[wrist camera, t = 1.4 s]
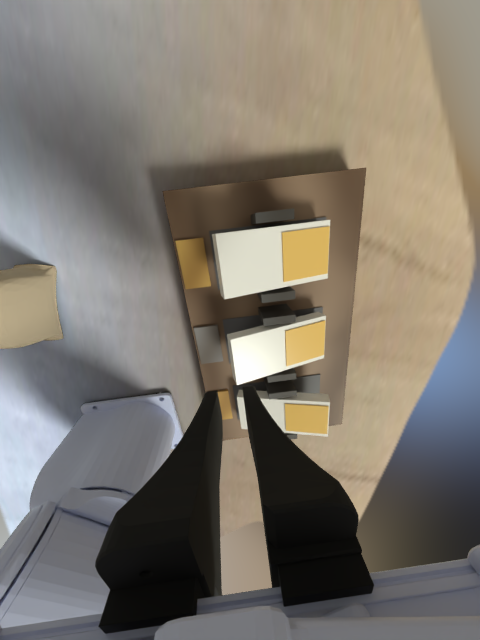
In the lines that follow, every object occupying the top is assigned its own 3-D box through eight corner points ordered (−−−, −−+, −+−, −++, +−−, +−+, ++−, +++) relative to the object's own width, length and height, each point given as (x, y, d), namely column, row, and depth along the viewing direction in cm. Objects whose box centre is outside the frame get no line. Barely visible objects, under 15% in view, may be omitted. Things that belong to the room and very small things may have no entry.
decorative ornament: (15, 332, 20) (-53, 366, 15) (0, 236, 17) (-92, 240, 12) (64, 339, 21) (13, 374, 16) (57, 248, 18) (-8, 256, 13)
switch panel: (216, 426, 26) (215, 464, 22) (169, 195, 17) (150, 183, 12) (333, 410, 26) (354, 445, 22) (350, 174, 17) (392, 156, 13)
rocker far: (243, 420, 23) (241, 429, 22) (238, 389, 21) (236, 398, 20) (326, 427, 21) (327, 437, 20) (328, 394, 19) (330, 403, 18)
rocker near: (221, 295, 15) (225, 299, 14) (211, 234, 14) (215, 234, 13) (319, 276, 17) (328, 278, 16) (320, 220, 16) (331, 219, 15)
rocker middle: (233, 377, 18) (237, 386, 17) (226, 334, 16) (231, 340, 15) (316, 352, 20) (324, 358, 19) (318, 311, 18) (326, 315, 17)
